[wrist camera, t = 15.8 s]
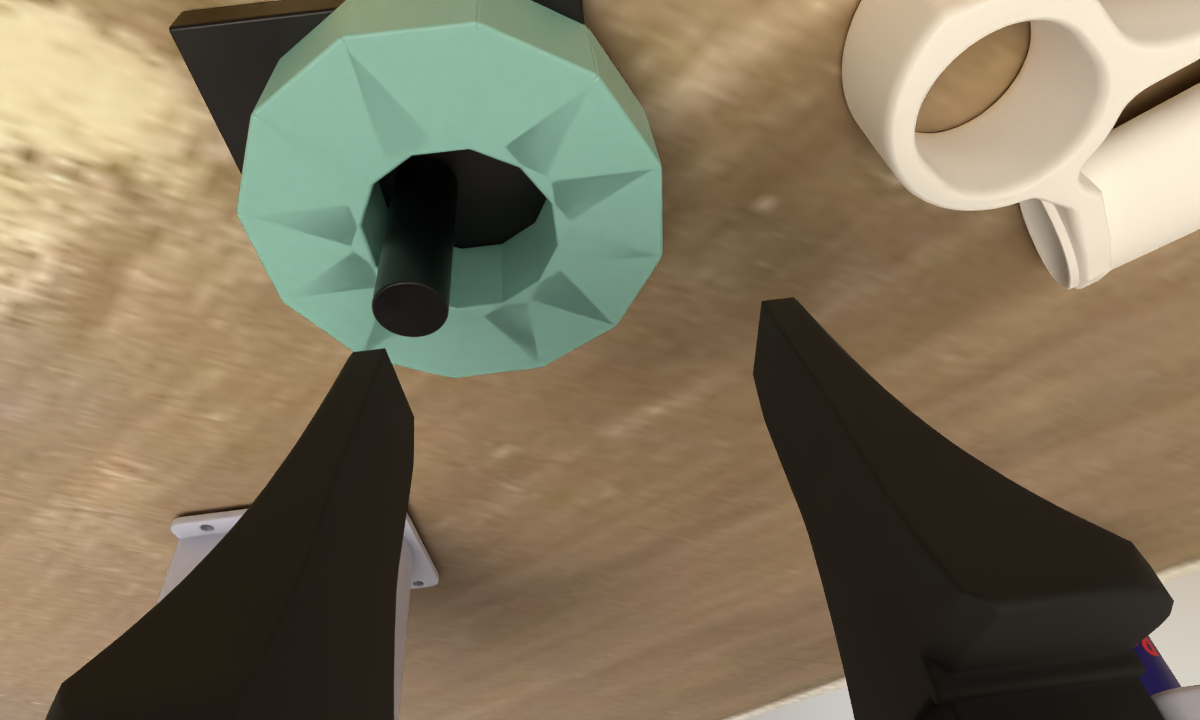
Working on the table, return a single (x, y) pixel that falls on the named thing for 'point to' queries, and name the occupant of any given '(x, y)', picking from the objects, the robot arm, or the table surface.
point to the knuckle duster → (1042, 120)
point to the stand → (411, 191)
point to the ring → (448, 123)
